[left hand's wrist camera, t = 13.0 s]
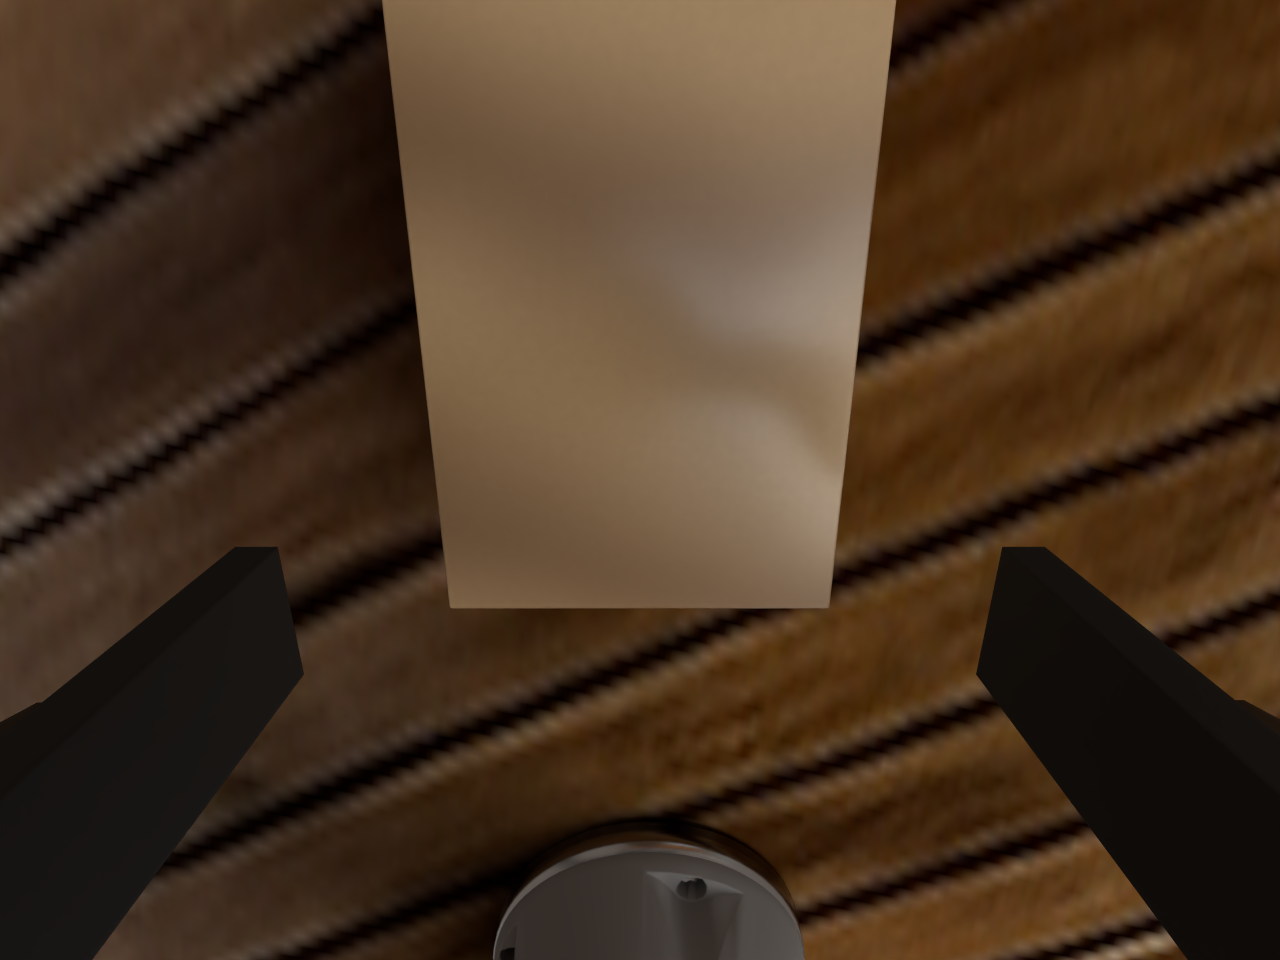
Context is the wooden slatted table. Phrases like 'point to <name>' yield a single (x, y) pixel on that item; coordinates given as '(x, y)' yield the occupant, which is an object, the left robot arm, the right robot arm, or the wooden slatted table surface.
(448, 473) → the cabinet
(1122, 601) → the wooden slatted table surface
